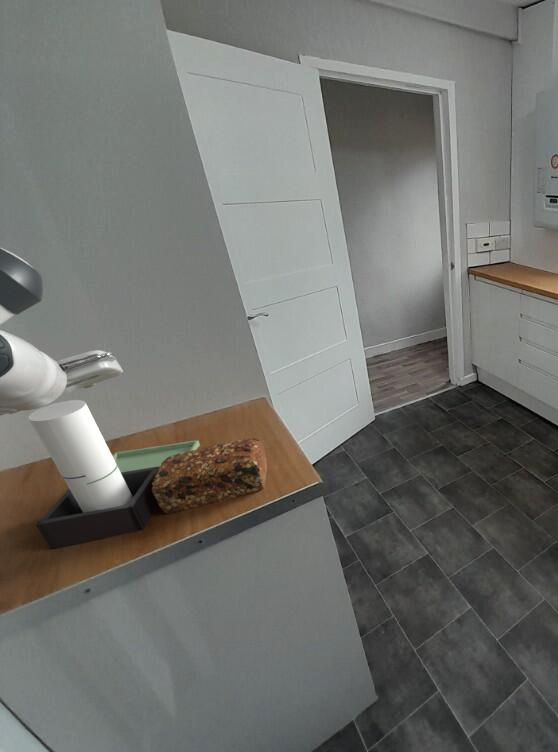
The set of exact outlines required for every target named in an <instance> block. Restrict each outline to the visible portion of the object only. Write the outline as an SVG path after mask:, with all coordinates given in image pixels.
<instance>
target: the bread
mask: <svg viewBox="0 0 558 752" xmlns="http://www.w3.org/2000/svg"><path fill="white" fill-rule="evenodd" d="M267 476H268V461H267V455H266V451H265V447H264V444H263V442H261V440H260V438H255V437H249V438H248V437H247V438H242V439H238V440H233V441H232V440H231V441H228V442H223V443H218V444H215V445H211V446H205V447H203V448H197V450H192V451H189V452H184V453H179V454H176V455H173V456H170V457H168V458H166V459H165V460H164V461H163V462H162V463H161V466H160V469H157V470H156V472H155V479H154V482H153V483H152V484H153V488H152V491H153V494H154V497H155V498H156V500H157V502H158V507H159V508H160V509H161V511H162V512H164V514H166V515H171V514H175V513H177V512H182V511H187V510H191V509H194V508H199V507H204V506H208V505H210V504H216V503H219V502H224V501H227V500H229V499H236V498H239V497H243V496H247V495H250V494H254V493H256V492H260V491H262V490H264V489H265V486H266V481H267Z"/></svg>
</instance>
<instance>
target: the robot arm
mask: <svg viewBox="0 0 558 752" xmlns="http://www.w3.org/2000/svg"><path fill="white" fill-rule="evenodd" d="M42 277H43V276H42V275H41V273H40V272H39V271H37V270H36V269H35V268H34V267H33V266H32V265H31V264H29V262H27V261H26V260H24V259H23V258H21V257H20V256H19V255H17V254H15V253H13V252H11V251H9V250H7V249H5V248H3V247H0V326H1V325H3V324H4V323H6V322H7V321H8V320H10V319H11V318H12V317H14V316H15V315H19V314H21V313H24V312H25V311H27V310H29V309H30V308H32V307H33V306H35V305H37V304H39V303H40V302H42V298H43V291H44V289H43V288H44V285H43V278H42ZM123 372H124V370H123V367H122V366H121V364H120V363H119V362H118V360H117V358H116V356H115V355H114V354H113V353H112V352H107V351H105V350H102V349H101V350H100V349H97V350H96V349H95V350H89V351H85V352H81V353H79V354H75V355H72V356H68V357H65V358H62V359H57V360H55V359H54V358H52V357H50V355H48V354H46V353H45V352H43V351H41V350H39V349H38V348H37V347H36V346H34V345H32V344H31V343H30V342H28V341H27V340H25V339H23V338H21V337H19V336H17V335H14V334H12V333H10V332H7V331H4V330H2V329H0V416H3V415H7V414H9V415H12V414H15V413H18V412H22V411H31V410H36V409H41V408H43V407H46V406H48V405H50V404H51V403H53V402H54V401H55V400H57V399H59V397H60V396H62V395H65V394H68V393H71V392H74V391H78V390H80V389H89V388H92V387H96V384H98V383H101V382H104V381H107V380H111V379H112V378H116V377H118V376H120V375H121V374H123Z"/></svg>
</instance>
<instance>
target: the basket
mask: <svg viewBox="0 0 558 752" xmlns="http://www.w3.org/2000/svg"><path fill="white" fill-rule="evenodd" d="M157 469H160V466H158V467H152V468H146V469H140V470H133V471H127V472H121V474H122V476H123V478H124V480H125V482H126V484H127V486H128V488H129V490H130V492H131V494H132V496H133V499H132V500H131V501H130V503H129V504H128V505H123V506H117V507H112V508H106V509H101V510H96V511H90V512H85V513H83V511H82V510H81V508H80V506H79V504H78V503H77V501H76V499H75V498H74V496H73V494H72V492H71V491H70V489H69V488H68V489H67V490H66V491H65V492H64V493H63V494H62V496H61V497H60V498H58V500H57V501H56V502H55V503H54V504H53V505H52V506H51V508H50V509H48V510H47V512H45V514H44V515H43V516H42V517H41V519H40V520H38V522H36V523H35V526H36V528H37V530H38V531H39V533H40V535H41V537H42V539H44V540H43V541H45V543H46V544H47V547H48V548H49V549H50V550H53V549H54V550H55V549H58V548H62V547H68V546H72V545H73V546H74V545H78V544H82V543H83V544H84V543H88V542H92V541H97V540H102V539H107V538H113V537H117V536H122V535H127V534H131V533H135V532H141V531H143V530H144V529H145V528H146V527H147V525H148V523H149V521H150V520H151V518H152V517H153V514H154V513H155V512H156V510H157V508H158V507H159V504H158V502H157V500H156V498H155V497H154V494H153V491H152V488H153V484H152V483H153V482H154V479H155V472H156V470H157Z"/></svg>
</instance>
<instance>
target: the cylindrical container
mask: <svg viewBox="0 0 558 752" xmlns="http://www.w3.org/2000/svg"><path fill="white" fill-rule="evenodd" d="M27 418H28V420H29V422H30V424H31V425H32V427H33V429H34V430H35V433H37V435H38V438H39V440H40V441H41V442H42V444H43V446H44V448H45V449H46V451H47V452H48V454H49V456H50V459H52V461H53V463H54V466H55V467H56V468H57V470H58V472H59V474H60V475H61V477H62V479H63V480H64V482H65V484H66V487H67V488H68V489H70V491H71V492H72V494H73V496H74V498H75V499H76V501H77V503H78V504H79V506H80V508H81V510H82V511H83V513H85V512H90V511H96V510H101V509H106V508H112V507H117V506H123V505H128V504H129V503H130V501H131V500H132V499H133V497H134V496H132V494H131V492H130V490H129V488H128V486H127V484H126V482H125V480H124V478H123V476H122V474H121V472H120V470H119V468H118V466H117V464H116V462H115V460H114V458H113V456H112V455H113V454H112V453H111V450H110V448H109V446H108V444H107V442H106V440H105V438H104V436H103V434H102V432H101V431H100V428H99V426H98V424H97V422H96V421H95V418H94V416H93V414H92V413H91V411H90V409H89V406H88V405H87V403H86V401H85V400H82V399H71V400H64V401H60V402H55V403H52V404H47V405H45V406H43V407H40V408H37V410H36V409H35V410H34V411H33V412H31V413H30V414H29V416H28V417H27Z"/></svg>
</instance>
